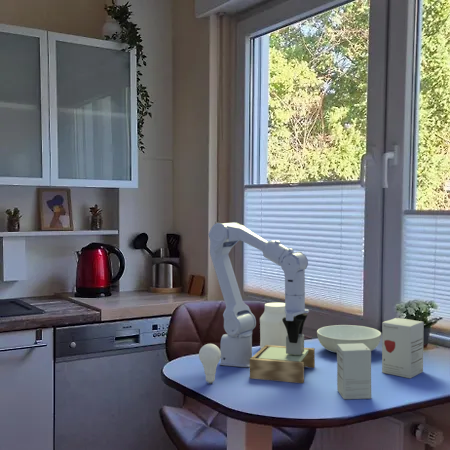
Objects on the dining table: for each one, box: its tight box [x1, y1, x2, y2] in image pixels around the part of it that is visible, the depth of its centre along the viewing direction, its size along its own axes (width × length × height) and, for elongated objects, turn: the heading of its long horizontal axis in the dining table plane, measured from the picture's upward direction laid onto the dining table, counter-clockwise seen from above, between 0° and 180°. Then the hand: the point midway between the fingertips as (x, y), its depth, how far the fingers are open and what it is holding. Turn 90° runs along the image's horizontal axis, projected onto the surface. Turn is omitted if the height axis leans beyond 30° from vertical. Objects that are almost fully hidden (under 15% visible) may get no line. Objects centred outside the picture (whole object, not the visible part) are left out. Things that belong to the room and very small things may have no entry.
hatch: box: [257, 347, 308, 362], centre depth 172 cm, size 12×13×1 cm
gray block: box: [286, 333, 305, 355], centre depth 171 cm, size 4×4×5 cm
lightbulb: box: [198, 343, 221, 384], centre depth 163 cm, size 6×6×11 cm
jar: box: [259, 301, 288, 350], centre depth 201 cm, size 12×10×15 cm
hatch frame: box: [249, 345, 316, 384], centre depth 172 cm, size 15×17×6 cm
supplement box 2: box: [381, 317, 425, 379], centre depth 171 cm, size 9×9×15 cm
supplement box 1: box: [336, 343, 372, 400], centre depth 152 cm, size 7×7×13 cm
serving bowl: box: [316, 324, 382, 354], centre depth 195 cm, size 21×21×7 cm
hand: (295, 340), depth 171 cm, fingers closed on gray block, 4 cm apart
